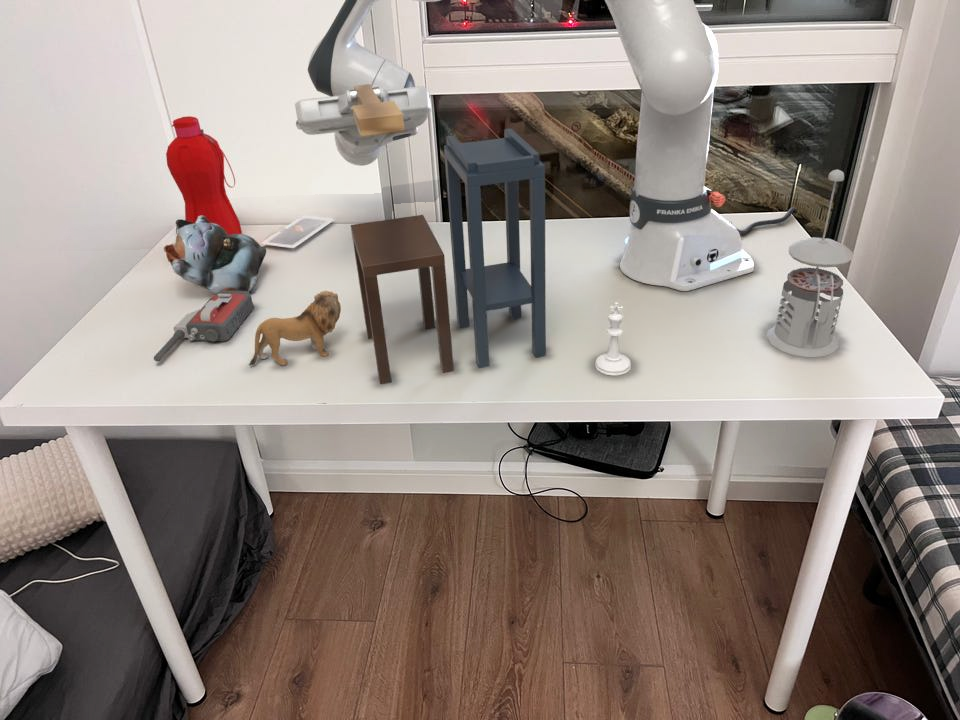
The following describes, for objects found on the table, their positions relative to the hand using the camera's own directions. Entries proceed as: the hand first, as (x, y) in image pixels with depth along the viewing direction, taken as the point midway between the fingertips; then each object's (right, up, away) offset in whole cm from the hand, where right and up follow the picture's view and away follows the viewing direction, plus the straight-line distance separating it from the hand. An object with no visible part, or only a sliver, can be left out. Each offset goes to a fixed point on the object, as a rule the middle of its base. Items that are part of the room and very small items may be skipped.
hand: (365, 93), depth 108 cm
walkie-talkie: (-26, -34, +11) cm, 45 cm away
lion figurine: (-10, -37, +5) cm, 39 cm away
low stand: (+6, -37, +3) cm, 38 cm away
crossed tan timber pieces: (+2, -4, -4) cm, 6 cm away
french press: (+63, -36, 0) cm, 72 cm away
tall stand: (+19, -35, +5) cm, 40 cm away
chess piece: (+35, -39, -2) cm, 53 cm away
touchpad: (-20, -13, +43) cm, 49 cm away
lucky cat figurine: (-29, -25, +25) cm, 46 cm away
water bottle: (-34, -16, +40) cm, 55 cm away
